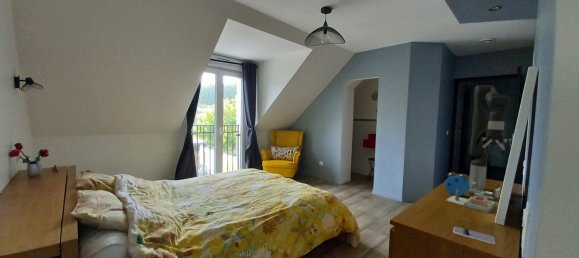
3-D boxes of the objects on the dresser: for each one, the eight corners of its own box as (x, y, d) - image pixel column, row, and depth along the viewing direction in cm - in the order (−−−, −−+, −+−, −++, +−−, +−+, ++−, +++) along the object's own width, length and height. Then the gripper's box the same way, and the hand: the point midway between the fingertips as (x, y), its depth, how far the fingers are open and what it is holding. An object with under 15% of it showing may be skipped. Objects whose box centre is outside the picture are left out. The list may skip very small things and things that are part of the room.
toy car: (465, 180, 163) (469, 177, 170) (464, 194, 164) (468, 191, 171) (500, 187, 149) (503, 183, 157) (498, 202, 150) (501, 198, 158)
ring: (475, 201, 148) (476, 194, 148) (487, 204, 143) (488, 197, 143) (470, 206, 141) (471, 198, 140) (483, 209, 136) (484, 201, 136)
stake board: (452, 196, 158) (453, 185, 158) (469, 200, 151) (470, 189, 151) (446, 200, 150) (446, 189, 149) (463, 205, 143) (464, 194, 142)
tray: (471, 200, 152) (471, 196, 152) (494, 206, 143) (495, 202, 143) (464, 206, 142) (464, 202, 142) (489, 213, 133) (489, 208, 133)
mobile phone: (495, 243, 101) (452, 231, 111) (495, 245, 101) (452, 233, 111) (494, 235, 107) (454, 225, 117) (494, 238, 107) (454, 227, 117)
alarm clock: (469, 196, 159) (470, 174, 158) (467, 198, 155) (469, 176, 153) (446, 191, 168) (447, 170, 167) (443, 193, 164) (445, 171, 163)
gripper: (512, 129, 142) (509, 156, 144) (482, 127, 153) (480, 152, 154) (510, 129, 137) (507, 157, 139) (479, 127, 148) (477, 153, 150)
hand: (493, 154), depth 147 cm, fingers open, 8 cm apart
